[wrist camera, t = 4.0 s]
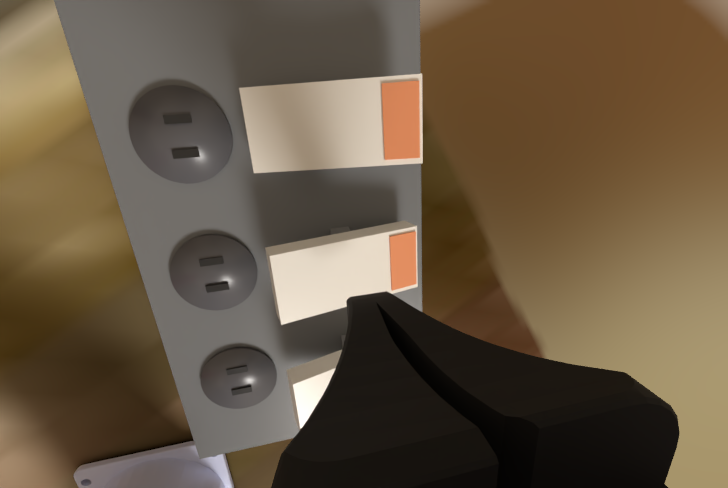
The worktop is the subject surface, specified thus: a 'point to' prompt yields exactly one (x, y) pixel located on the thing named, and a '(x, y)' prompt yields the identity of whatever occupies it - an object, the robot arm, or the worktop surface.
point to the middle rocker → (341, 268)
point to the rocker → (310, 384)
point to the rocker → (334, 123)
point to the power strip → (234, 181)
